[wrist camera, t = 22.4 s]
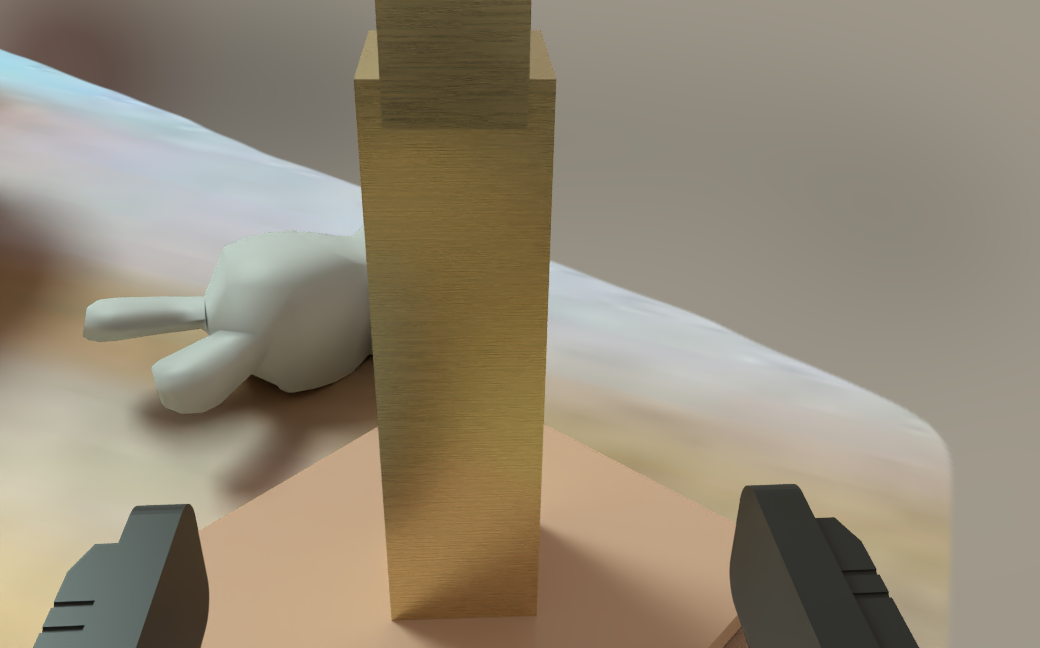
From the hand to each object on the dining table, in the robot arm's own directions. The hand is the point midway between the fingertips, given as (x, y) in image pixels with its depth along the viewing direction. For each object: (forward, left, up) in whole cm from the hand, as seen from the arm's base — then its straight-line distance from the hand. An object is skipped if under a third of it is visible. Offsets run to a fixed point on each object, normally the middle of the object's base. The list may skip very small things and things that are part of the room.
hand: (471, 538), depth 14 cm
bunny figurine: (+12, +21, -12) cm, 27 cm away
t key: (+7, +7, -11) cm, 15 cm away
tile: (+7, +7, -11) cm, 15 cm away
